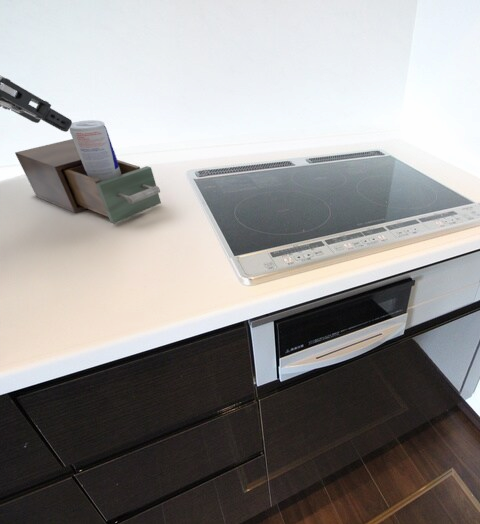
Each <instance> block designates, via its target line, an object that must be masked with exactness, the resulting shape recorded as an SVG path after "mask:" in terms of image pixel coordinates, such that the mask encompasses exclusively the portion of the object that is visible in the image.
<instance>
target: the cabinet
mask: <svg viewBox="0 0 480 524" xmlns="http://www.w3.org/2000/svg"><path fill="white" fill-rule="evenodd" d="M114 153H115V156H116V159H117V155H116V152H115V151H114ZM14 154H15V156H16V158H17V160H18V162H19V164H20V166H21V169H22V170H23V172H24V174H25V176H26V178H27V181H28V182H29V184H30V186H31V188H32V190H33V192H34V194H35V196H36V197H37V198H39V199H41V200H43V201H44V202H48V203H50V204H53V205H55V206H58V207H59V208H62V209H64V210H66V211H69V212H71V213H74V214H77V213H79V212H82V211H84V210H87V208H85V207H83V206H80V205H78V204H77V202H76V200H75V198H74V196H73V193H72V191H71V189H70V186H69V184H68V182H67V179H66V177H65V175H64V172H63V169H67V168H70V167H74V166H77V165H80V164H83V163H82V161H81V158H80V156H79V153H78V151H77V148H76V146H75V143H74V141H73V138H71V139H66V140H62V141H58V142H53V143H50V144H49V143H48V144H46V145H41V146H37V147H33V148H28V149H23V150H19V151H15V152H14ZM117 160H118V159H117Z"/></svg>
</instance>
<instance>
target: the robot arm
mask: <svg viewBox="0 0 480 524" xmlns="http://www.w3.org/2000/svg"><path fill="white" fill-rule="evenodd" d="M31 102H32V103H34V104H36V107H35V106H33V105H31V104H30V103H31ZM1 107H2V109H3V110H8V111H11V112H14V113H15V114H17V115H19V116H21V117H23V118H25V119H27V120H28V121H31V122H32V123H35V124H39V123H40V122H41V121H43V122H45V123H46V124H49V125H50V126H52V127H54V128H56V129H58V130H60V131H61V132H64V133H67V132H69V131H70V126H71V124H72V123H73V121H72V119H70V118H69V117H67V116H65V115H64V114H62V113H60V112H59V111H57V110H55V109H53V108H51V107H52V104H51V103H50V102H49V101H47V100H44V99H42V98H40V96H37V95H36V94H34V93H32V92H30V91H28V90H27V89H26V88H25V89H24V88H23V87H22V86H20V85H18V84H16V83H15V82H13V81H11V79H9V78H7V77H5V76H2V75H0V108H1Z"/></svg>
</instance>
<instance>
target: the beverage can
mask: <svg viewBox="0 0 480 524" xmlns="http://www.w3.org/2000/svg"><path fill="white" fill-rule="evenodd" d="M69 133H70V135H71V137H72V138H71V139H73V141H74V143H75V146H76V148H77V151H78V153H79V156H80V158H81V161H82V163H83V166H84V168H85V171H86V174H87V176H89V177H91V178H94V179H97V180H99V181H100V182H102V181H105V180H108V179H111V178H114V177H117V176H119V175H122V174H121V171H120V168H119V165H118V162H117V160H118V159H116V158H117V155H116V152H115V149H114V147H113V143H112V140H111V137H110V135H109V131H108V129H107V127H106V126H105V122H104V121H101V120H96V119H95V120H92V119H91V120H79V121H74V122H72V124H71V126H70V128H69ZM114 152H115V153H114ZM115 155H116V156H115Z"/></svg>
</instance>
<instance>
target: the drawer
mask: <svg viewBox="0 0 480 524" xmlns="http://www.w3.org/2000/svg"><path fill="white" fill-rule="evenodd" d="M117 162H118V165H119V168H120V171H121V174H122V175H119V176H117V177H114V178H111V179H108V180H105V181H102V182H100V181H99V180H97V179H94V178H91V177H89V176H87V174H86V171H85V168H84V166H83V164H80V165H77V166H74V167H70V168H67V169H63V172H64V175H65V177H66V179H67V182H68V184H69V186H70V189H71V191H72V193H73V196H74V198H75V200H76V202H77V204H78V205H80V206H83V207H85V208H87V209H88V210H90V211H92V212H95V213H97V214H100V215H103V216H104V217H107V218H108V219H109V222H110V223H111V224H117V223H120V222H121V221H124V220H126V219H128V218H131V217H132V216H133V217H134V216H136V215H137V214H140V213H142V212H144V211H147V210H149V209H151V208H154V207H156V206H158V205H160V204H162V202H161V197H160V193H161V189H160V187H159V186H158V185H157V183H156V180H155V177H154V173H153V169H152V167H151V166H149V165H146V166H143V167H140V166H138V165H134V164H132V163H129V162H126V161H122V160H119V159H117ZM87 209H86V210H87Z"/></svg>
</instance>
